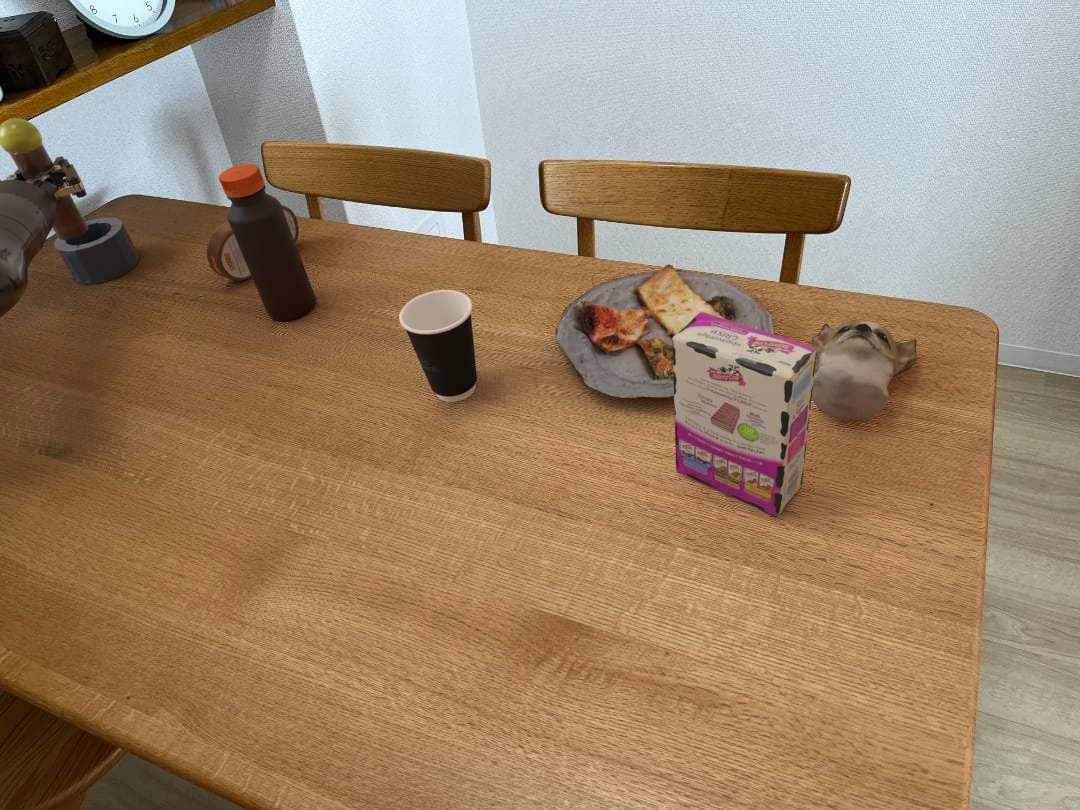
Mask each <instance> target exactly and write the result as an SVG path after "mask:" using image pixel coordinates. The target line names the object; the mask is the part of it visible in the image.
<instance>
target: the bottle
mask: <svg viewBox="0 0 1080 810" xmlns="http://www.w3.org/2000/svg"><path fill="white" fill-rule="evenodd" d="M263 177H264V176H263V174H262V172H261V169H260V166H259V165H257V164H255V163H241V164H237V165H233V166H230V167H229V168H227V169H225V170H223V171H222V172H221V173H220V174H219V175H218V181H219V183H220V185H221V187H222V190H223V192H224V195H225V196H226V198H227V199H228V200H229V201H230V202H231V205H230V206H229V209H228V211H227V215H226V219H227V221H228V222H229V224H230V227H231V229H232V231H233V234H234V236H235V238H236V241H237V243H238V246H239V248H240V250H241V253H242V255H243V257H244V260H245V262H246V264H247V267H248V269H249V271H250V274H251V279H252V282H253V283H254V286H255V288H256V290H257V293H258V294H259V298H260V299H261V302H262V304H263V307H264V309H265V311H266V314H267V315H268V317H269V318H271V319H272V320H274V321H278V322H279V321H281V322H287V321H293V320H296V319H299V318H301V317H303V316H305V315H306V314H308V313H310V312H311V311H312V310H313V309H314V307H315V306H316V303H317V299H316V294H315V292H314V289H313V287H312V284H311V281H310V279H309V275H308V273H307V271H306V268H305V264H304V263H303V262H304V261H303V260H302V257H301V255H300V254H301V253H300V252H299V249H298V246H297V242H296V243H295V241H294V238H293V235H292V233H291V230H290V227H289V225H288V222H287V219H286V217H285V214H284V211H283V208H282V206H281V205H282V203H281V202H280V200H278V198H276V197H275V196H272V195H270V194H269V193H267V192H266V188H267V187H266V184H265V180H264V178H263Z"/></svg>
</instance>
